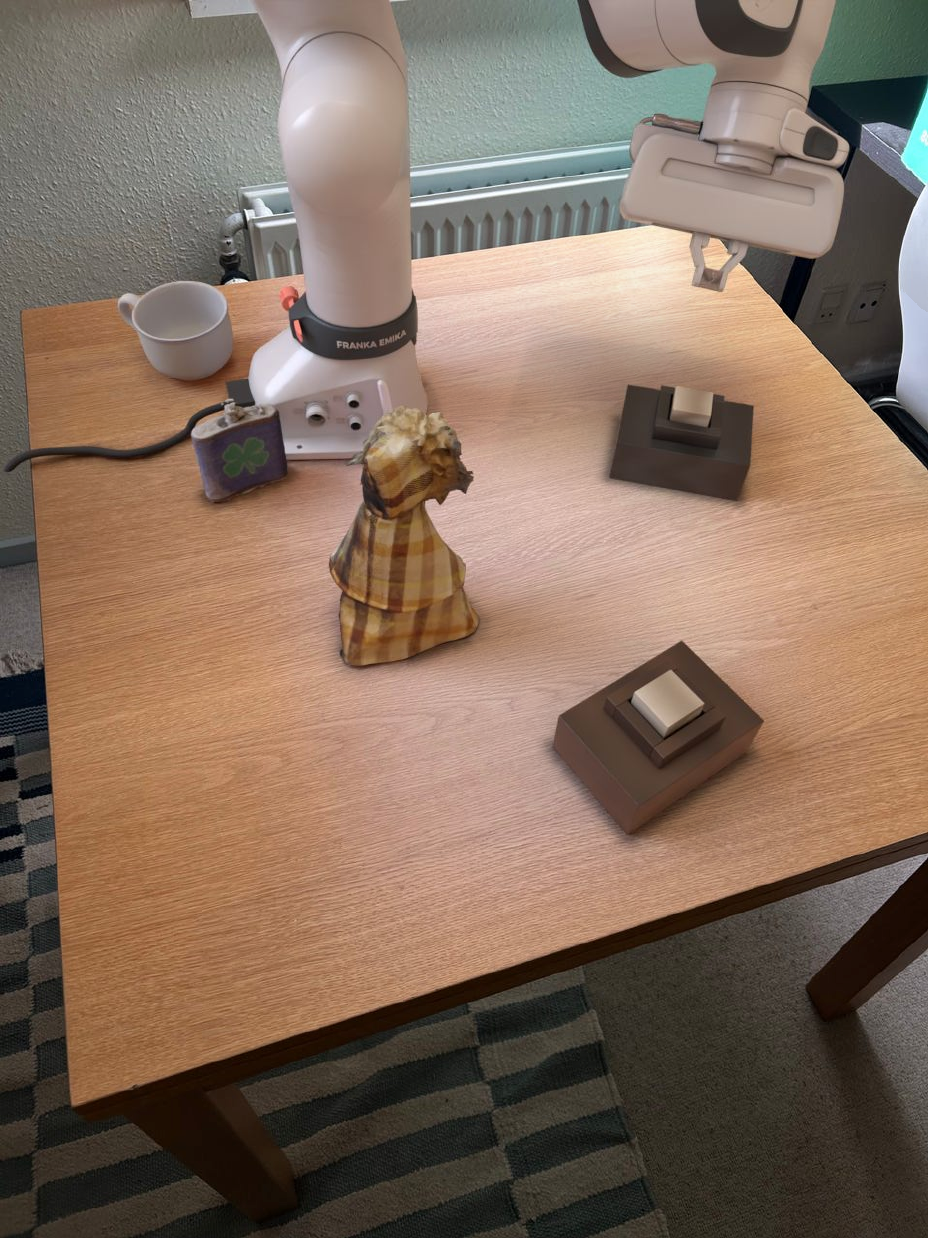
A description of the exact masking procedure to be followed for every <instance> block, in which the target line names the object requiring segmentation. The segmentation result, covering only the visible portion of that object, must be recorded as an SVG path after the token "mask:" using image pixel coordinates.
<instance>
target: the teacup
mask: <svg viewBox="0 0 928 1238" xmlns="http://www.w3.org/2000/svg"><path fill="white" fill-rule="evenodd" d="M130 306H131V307H132V308H133V309H131V308H130ZM117 311H118V313H119V315H120V317H121V318H122V320H124V322H125V323H126V324H127V325H128V326H129V327H131V328H132V329H133V330H135V331H136V333H137V336H138V338H139V342H140V344H141V347H142V350H143V351H144V354H145V356H146V358H147V360H148V361H149V363H150V364H151V366H152V367H153V368H154V369H155V370H156V371H158V372H159V373H161V374H162V375H164V376H166V377H169V378H172V379H176V380H180V381H181V380H182V381H199V380H203V379H205V378H209V377H211V376H212V375H214V374H215V373H217V372H218V371H219V370H221V369H222V368H223V367H224V366H225V365H226V364H227V363H228V362H229V360H230V358H231V356H232V354H233V350H234V334H233V327H232V322H231V317H230V313H229V304H228V300H227V298H226V296H225V295H224V294H223V292H222V291H220V290H219V289H218V288H216V287H215V286H213V285H210V284H209V283H206V282H202V281H194V280H177V281H171V282H167V283H164V284H161V285H158V286H155V287H154V288H152V289H150V290H149V291H147V292H146V293H144V294H143V295H142V296H141V297H140V296H139V295H137V294H135V293H132V292H131V293H130V292H127V293H124V294H122V295H121V297H119V299H118V301H117Z"/></svg>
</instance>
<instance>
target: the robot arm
mask: <svg viewBox="0 0 928 1238" xmlns="http://www.w3.org/2000/svg"><path fill="white" fill-rule="evenodd" d="M250 1H251V3H252V5H253V8H254V9H255V11H256V14H257V15H258V17H259V19H260V21H261V22H262V24H263V27H264V29H265V31H266V33H267V35H268V37H269V40H270V42H271V44H272V46H273V49H274V52H275V55H276V58H277V60H278V64H279V69H280V76H281V84H282V89H281V97H280V103H279V108H278V114H277V135H278V142H279V147H280V148H279V149H280V153H281V159H282V164H283V170H284V175H285V181H286V185H287V186H286V187H287V190H288V194H289V199H290V204H291V207H292V211H293V215H294V219H295V222H296V223H295V224H296V227H297V233H298V241H299V248H300V257H301V265H302V274H303V282H304V292H303V294H302V295H300V296H299V292H298V289H297V288H295V287H294V286H291V285H286V286H284V287H282V288H281V290H280V291H279V300H280V301H281V307H282V308H283V309H284V310H285V311H287V312H288V321H289V325H288V326H287V327H286V328H285V329H283V330H282V331H281V332H279V333H278V334H277V335H276V336H274V337H273V338H271V339H270V340H268V341H267V342H265V343H264V344H263V345H261V346H260V347H259V348H258V349H257V350H256V351H255V352H254V354H253V355H252V358H251V362H250V366H249V372H248V376H247V377H244V378H241V379H234V380H229V381H225V387H226V392H227V396H228V399H233V400H234V401H231V402H228V403H226V402H225V400H223V401H221V402H219V403H216V404H213V405H210V406H207V407H205V408H202V409H200V410H199V411H197V412H195V413H194V414H193V415H192V416H191V417H189V419H188V421H187V423H186V425H185V427H184V428H183V429H182V430H181V431H179V432H178V433H176V434H175V435H173V436H172V437H170V438H168V439H166V440H163V441H161V442H158V443H155V444H152V445H148V446H143V447H137V448H131V449H115V448H107V447H99V446H91V445H85V446H84V445H80V446H79V445H77V446H52V447H40V448H34V449H29V450H26V451H23V452H20V453H18V454H17V455H15V456H14V457H13V458H11V459H10V460H9V461H8V462H7V463H6V464H5V466H4V469H3V472H4V473H11V472H13V471H14V470H15V469H16V468H18V466H19V465H21V464H22V463H24V462H26V461H28V460H31V459H36V458H41V457H50V456H52V457H53V456H72V455H73V456H77V455H94V456H103V457H108V458H114V459H115V458H116V459H132V458H137V457H143V456H148V455H152V454H156V453H159V452H162V451H165V450H167V449H169V448H172V447H174V446H175V445H177V444H178V443H180V442H182V441H183V440H185V439H186V438H188V437H189V436H191V432H192V429H194V428H195V427H196V426H197V424H198V423H199V421H201V420H203V419H204V418H206V417H208V416H210V415H213V414H216V413H219V412H222V411H225V405H227V404H231V403H235V406H239V407H242V408H246V407H251V406H254V405H258V404H259V405H260V404H266V403H268V404H271V405H273V406H275V407H276V409H277V410H278V411H279V415H280V422H281V429H282V434H283V442H284V447H285V454H286V460H287V461H297V460H341V459H344V460H345V459H352V457H353V455H355V454H358V453H360V452H361V451H363V449H364V445H365V444H366V442H367V440H368V435H369V433H370V431H371V430H372V428H373V427H374V425H375V424H376V423H377V422H378V421H379V420H380V419H381V418H382V416H383V415H384V414H386V413H391V412H395V411H394V409H396V408H397V407H399V406H405V407H407V408H409V409H410V410H412V409H415V408H417V409H419V410H421V411H422V412H423V413H424V416H425V415H426V414H427V412H428V407H429V400H428V399H429V398H428V394H427V392H426V390H425V387H424V384H423V380H422V377H421V372H420V368H419V363H418V358H417V352H416V345H417V343H418V341H417V339H418V338H417V337H418V332H419V318H418V317H419V312H418V310H419V309H418V302H417V296H416V295H415V293H414V289H413V272H412V271H413V269H412V268H413V267H412V266H413V265H412V263H413V262H412V214H411V213H412V211H411V208H412V206H411V205H412V204H411V136H410V131H411V130H410V101H409V77H408V72H409V71H408V62H407V57H406V54H405V50H404V47H403V43H402V40H401V39H402V38H401V36H400V32H399V29H398V25H397V22H396V19H395V18H396V17H395V14H394V12H393V8H392V5H391V1H390V0H250ZM576 1H577V5H578V9H579V14H580V18H581V22H582V26H583V30H584V34H585V37H586V40H587V43H588V46H589V48H590V50H591V52H592V54H593V56H594V58H595V59H596V60H597V62H598V63H599V64H600V65H601V66H602V67H603V68H604V69H605V70H606V71H608V72H609V73H610V74H612V75H614V76H616V77H619V78H624V79H634V78H638V77H641V76H642V77H643V76H645V75H649V74H650V75H651V74H653V73H657V72H660V71H663V70H669V69H679V68H686V67H695V66H699V65H703V64H708V65H710V66H713V68H714V70H715V75H714V77H713V79H712V82H711V84H710V87H709V92H708V96H707V101H706V103H705V108H704V110H703V111H704V112H703V116H702V119H701V121H699V120H693V119H689V118H681V117H672V116H670V115H668V114H665V113H657V112H656V113H654V114H653V116H647V117H644V118H643V119H641V120H640V121H639V122H638V123H637V124H636V125H635V126H634V129H633V131H632V135H631V139H630V144H629V150H628V151H629V154H628V155H629V157H630V160H631V162H632V164H631V167H630V169H629V172H628V174H627V177H626V180H625V182H624V186H623V190H622V193H621V195H620V199H619V204H618V211H619V213H620V215H621V217H622V218H623V220H625V221H626V220H627V221H629V222H635V223H638V224H643V225H649V226H654V227H659V228H661V229H667V230H672V231H677V232H683V233H687V234H690V235H691V238H690V241H689V242H690V243H689V251H690V255H691V257H692V262H693V266H694V267H695V268H694V272H693V276H692V280H691V285H690V286H691V287H695V288H700V289H705V290H709V291H712V292H713V291H714V292H718V293H722V292H724V290H725V288H726V283H727V280H728V276H729V274H730V273H731V272H732V271H733V270H734V269H735V268H736V267H737V265H739V264H740V263H741V261H743V259H744V258H745V257H746V256H747V251H748V248H749V247H753V248H757V249H762V250H767V251H772V252H776V253H782V254H786V255H790V256H795V257H800V258H805V259H810V260H812V259H818V258H822V256H824V255H825V254H826V253H828V252H829V251H830V250H831V249H832V247H833V245H834V242H835V238H836V235H837V231H838V228H839V224H840V219H841V213H842V209H843V203H844V196H845V195H844V194H845V183H844V179H843V177H842V175H841V173H840V172H839V171H838V170H837V169H838V168H840V167H842V165H843V164H845V162H846V161H847V158H848V156H849V152H850V144H849V142H848V140H846V139H844V137H842V136H840V135H839V134H837V133H835V132H834V131H833V130H831V129H829V128H827V127H826V126H824V125H823V124H821V123H819V122H818V120H815V119H814V118H813V117H811V116H809V115H808V114H807V113H806V111H807V108H808V104H809V100H810V83H811V77H812V73H813V70H814V69H815V66H816V64H817V62H818V60H819V58H820V56H821V55H822V53H823V51H824V48H825V43H826V40H827V37H828V34H829V30H830V26H831V22H832V18H833V14H834V10H835V5H836V1H837V0H576ZM648 123H651V124H648ZM711 239H714V240H720V241H724V242H729V243H728V247H727V251H726V254H727V255H729V256H730V255H731V256H730V258H728V259H727V261H726V262H725V263H724V264H723V265H722V267H720V269H714V268H710V267H707V266H706V261H705V256H704V253H703V249H705V248H708V246H709V243H710V240H711ZM221 403H224V404H223V405H221Z"/></svg>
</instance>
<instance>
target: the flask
mask: <svg viewBox="0 0 928 1238" xmlns="http://www.w3.org/2000/svg"><path fill="white" fill-rule="evenodd" d="M224 401H225V402H226V403H228V402H231V401H234V400H233V399H229V398H227V399H225V400H224ZM220 403H221V405H223V404H224V403H222V402H220ZM190 436H191V441H192V445H193V447H194V452H195V455H196V456H195V457H196V459H197V464H198V467H199V471H200V475H201V479H202V483H203V487H204V490H205V496H206V497H207V499H208V500H209V501H210V502H211V503H217V502H220V503H223V502H226V501H230V500H232V498H233V497H238V496H240V495H245V494H248V493H251V492H253V491H254V490H255V489H256V488H258V487H261V488H263V487H264V486H265V485H267V484H274V483H277V482H279V481H280V482H281V481H283V480H285V479H286V478H287V476H288V475H289V474H290V473H289V472H288V460H286V454H285V447H284V442H283V434H282V429H281V422H280V415H279V411H278V410H277V409H276V407H275V406H273V405H271V404H268V403H266V404H260V405H259V404H258V405H254V406H251V407H246V408H242V407H239V406H235V403H231V404H227V405H225V410H224V412H223V413H222V414H221V415H219V416H215V417H213V418H211V419H208V420H207V421H205V422H202V423H200V424H198V425H196V426H195V428H194V429H192V432H191V434H190Z"/></svg>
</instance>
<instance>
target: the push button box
mask: <svg viewBox="0 0 928 1238" xmlns="http://www.w3.org/2000/svg"><path fill="white" fill-rule="evenodd" d="M669 670H672V671H673V672H674V673H675V674H676V675H677V676H678V677H679V678H680V679H681V680H682V681H683V682H684V683H685V684H686V685H687V686H688V687H689V688H690V689H691V690H692V691H693V692H694V693H695V694H696V695H697V696H698V697H699V698H700V699H701V700H702V701H703V702H704V706H703V708H702V711H701V713H700V715H699V716H697V717H696V718H694V719H693V720H691V721H690V722H688V723H687V724H685V725H684V726H682V727H681V728H679V729H677V730H676V731H674V732H673V733H671V734H670V735H668V736H667V737H665V738H663V737H662V736H661V735H660V734H659V733H658V732H657V731H656V730H655V729H654V728H653V727H652V726H651V725H650V724H649V722H648V721H647V720H646V719H645V718H644V717H643V716H642V715H641V714H640V713H639V712H638V711H637V710H636V709H635V708H634V706H633V705H632V704H631V701H632V698H633V695H634V692H635V691H637V690H639V689H640V688H642V687H643V686H645V685H647V684H648V683H650V682H652V681H653V680H655V679H656V678H658V677H660V676H661V675H663V674H664V673H666V672H668V671H669ZM764 722H765V720H764V719H763V718H762V717H761V716H760V715H759V714H758V713H757V712H756V711H755V710H754V709H753V708H752V707H751V706H750V705H749V704H748V703H747V702H746V701H745V700H744V699H743V698H742V697H741V696H740V695H739V694H737V692H736V691H734V689H732V688H731V686H730V685H728V683H726V682H725V681H724V679H722V678H721V677H720V676H719V675H718V674H717V673H716V672H715V671H714V670H713V669H712V668H711V667H710V666H709V665H707V663H706V662H705V661H704V660H703V659H701V658H700V656H699V655H697V654H696V653H695V652H694V651H693V649H691V648H690V647H689V646H688V645H687V644H686V643H685V642H684V641H683V640H680V641H678V642H676V643H675V644H673V645H671V646H670V647H668V648H667V649H665V650H663V651H662V652H660V653H658V654H657V655H656V656H654V657H652V658H650V659H649V660H648V661H646V662H644V663H642V664H641V665H639V666H637V667H636V668H634V669H632V670H631V671H629V672H628V673H626V674H624V675H623V676H621V677H620V678H618V679H616V680H615V681H613V682H611V683H610V684H608V685H606V686H605V687H603V688H602V689H599V691H596V692H594V693H593V694H592V695H590V696H588V697H587V698H585V699H584V700H581V701H580V702H579V703H577V704H576V705H573V706H572V707H571V708H569V709H567V710H566V711H564V712H562V713H561V714H559V715H558V718H557V723H556V727H555V732H554V736H553V742H552V745H551V748H553V750H554V751H555V752H556V753H557V754H558V756H559V757H560V758H561V759H562V760H563V762H564V763H565V764H566V765H567V766H568V767H569V769H570V770H571V771H572V772H573V773H574V774H575V775H576V777H577V778H578V779H579V780H580V781H581V783H582V784H583V785H584V786H585V787H586V789H588V791H589V792H590V793H591V795H593V797H594V798H595V799H596V800H597V801H598V803H599V804H600V805H601V807H603V808H604V810H605V811H606V812H607V813H608V814H609V815H610V817H611V818H612V819H613V820H614V821H615V822H616V824H617V825H618V826H619V827H620V828H621V829H622V831H623V832H624V833H625V834H626V836H628V835H630V834H631V833H632V832H635V830H637V829H638V828H640V827H641V826H642V825H644V824H645V823H647V822H648V821H650V820H651V819H652V818H655V817H656V816H657V815H658V814H660V813H661V812H662V811H665V810H666V809H667V808H668V807H670V806H672V805H673V804H674V803H676V802H678V800H680V799H681V798H683V797H684V796H685V795H687V794H689V793H690V792H691V791H693V790H694V789H696V788H697V787H699V786H700V785H701V784H702V783H704V782H706V781H707V780H709V779H710V778H711V777H713V776H714V775H716V774H717V773H718V772H720V771H722V769H724V768H726V767H727V766H729V765H730V764H731V763H733V762H734V761H736V760H738V758H740V757H741V756H743V755H744V754H746V753H747V752H748V750H749V749H750V747H751V746H752V743H753V742H754V740H755V738H756V737H757V735H758V733H759V731H760V729H761V727H762V726H763V724H764Z"/></svg>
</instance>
